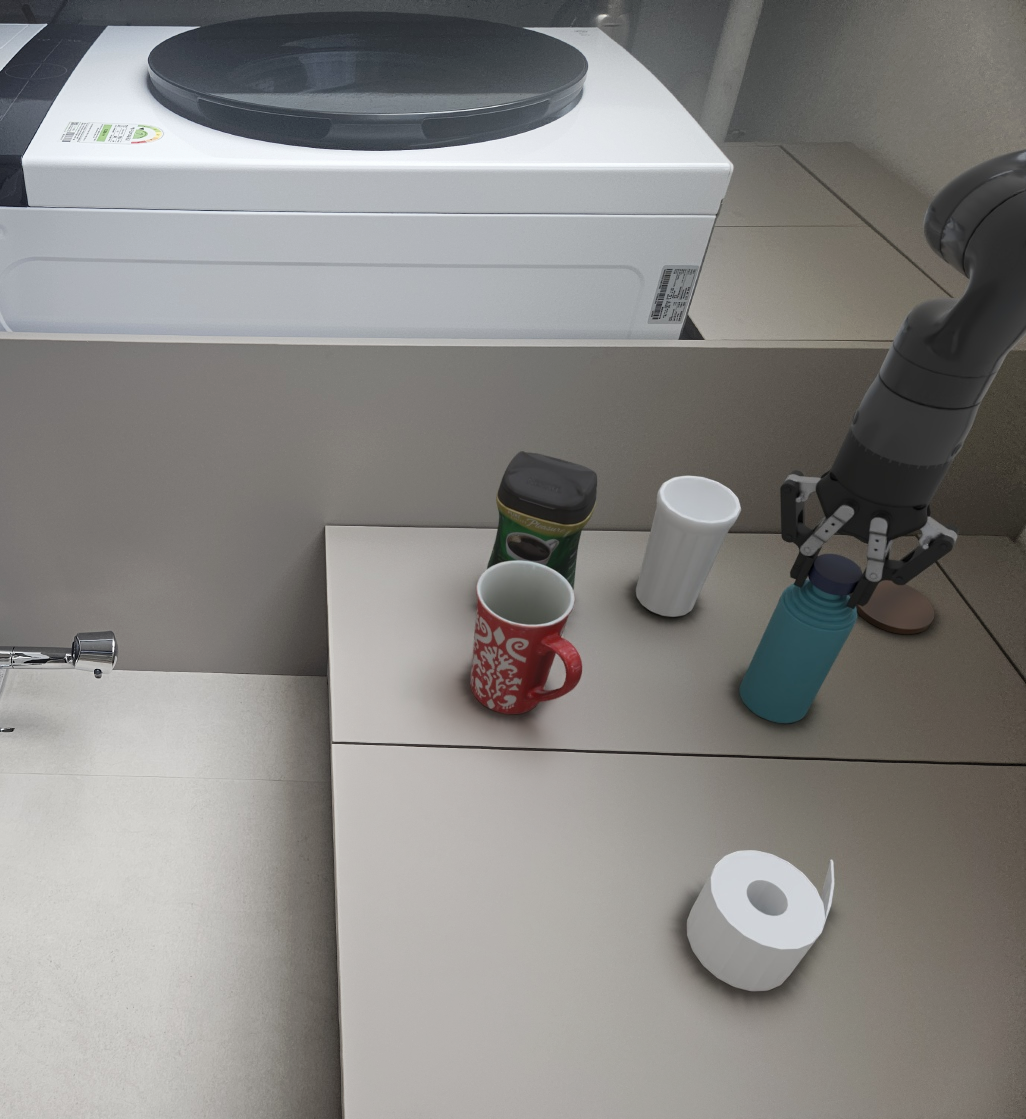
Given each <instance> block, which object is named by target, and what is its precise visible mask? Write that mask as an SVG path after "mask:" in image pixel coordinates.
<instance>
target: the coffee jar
mask: <svg viewBox="0 0 1026 1119" xmlns="http://www.w3.org/2000/svg"><path fill="white" fill-rule="evenodd" d="M597 492H598V475H597V472H596V471H595V470H592V469H591V468H589V467H587V466H585V465H581V464H578V463H574V462H572V461H569V460H564V459H561V458H557V457H553V456H550V455H546V454H541V453H538V452H529V451H528V452H527V451H524V450H520V451H519V452H517V453H516V455H514V457H513V458H512V459H511V460H510V461H509V464H508V465H507V467H506V469H505V471H504V473H503V476H502V477H501V481H500V483H499V487H498V489H497V491H496V496H495V501H496V508H497V511H498V524H497V531H496V535H495V539H494V542H493V546H492V550H491V552H490V557H489V560H488V563H487V567H486V569H485V571H486V570H487V569H488V568H490V567H492V566H494V565H496V564H499V563H502V562H506V561H530V562H535V563H539V564H542V565H545V566H547V567H549V568H551V569H553V570H555V571H557V572H558V573H559V574H561V575H562V576H563V577H564V578H565V579H566V580H567V581H568V582H569V584H570V585H571V587H572V589H573V591H575V590H574V589H575V580H576V570H577V559H578V551H579V545H580V540H581V536H582V532H583V529H584V528H585V527H586V525H587V524H588V523H589V521H590V520H591V517H592V516H593V514H594V511H595V508H596V504H597Z"/></svg>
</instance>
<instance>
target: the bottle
mask: <svg viewBox="0 0 1026 1119" xmlns="http://www.w3.org/2000/svg"><path fill="white" fill-rule="evenodd" d="M793 584H794V582H793V583H792V584H790V585H788V586H787V587H786V588H784V590H783V591H782V592H781V594H780V597H779V599H778V602H777V604H776V605H775V608H774V611H773V612H772V615H771V617H770V619H769V621H768V623H767V626H766V628H765V629H764V632H763V634H762V637H761V639H760V641H759V643H758V646H757V648H756V650H755V651H754V654H753V656H752V658H751V661H750V662H749V664H748V667H747V669H746V672H745V674H744V676H743V678H742V681H741V683H740V685H739V695H740V696H739V697H740V698H741V701H742V702H743V703H744V705H745V706H746V707H747V708H748V709H749V710H750V711H751V712H752V713H753V714H754V715H756V716H758V717H760V718H762V719H764V720H767V721H769V722H773V723H778V724H792V723H796V722H799V721H800V720H802V719H803V718H805V716H806V715H807V713H808V711H809V709H810V708H811V706H812V704H813V702H814V700H815V698H816V697H817V695H818V693H819V691H820V689H821V688H822V685H823V684H824V682H825V680H826V678H827V677H828V674H829V672H830V671H831V669H832V667H833V665H834V663H835V661H836V660H837V658H838V656H839V654H840V652H841V650H842V648H843V647H844V645H845V643H846V642H847V639H848V638H849V637H850V636H849V635H850V634H851V632H852V630H853V628H854V626H855V625H856V623H857V621H858V613H857V610H856V606H855V608H854V609H852V608H849V607H847V606H846V605H847V603H848V601H849V599H850V597H851V595H850V594H849V595H844V596H837V595H831V594H828V593H825V592H823V591H821V590H819V589H818V588H816V587H815V586H814V585H813V584H812V583H811V582H810V580H809V579H806V581H805V582H804V584H803V586H802V588H800V587H798V586H795V585H793Z"/></svg>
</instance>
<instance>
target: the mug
mask: <svg viewBox="0 0 1026 1119" xmlns="http://www.w3.org/2000/svg"><path fill="white" fill-rule="evenodd" d="M486 569H487V568H486ZM486 569H485V570H484V571H483V572H482V573H481V574H480V575H479V578H478V579H477V582H476V586H475V593H476V598H477V600H476V612H475V624H474V635H473V646H472V660H471V669H470V677H469V678H470V680H469V682H470V689H471V691H472V694H473V696H474V697H475V698H476V700H477V701H478V702H479V703H480V704H482V705H483V706H485V707H486V708H488V709H490V710H492V711H494V712H497V713H499V714H506V715H519V714H523V713H526V712H529V711H531V710H532V709H534V708H536V706H537V705H538V704H540V703H542V702H548V701H553V700H556V699H559V698H561V697H563V696H565V695H567V694H569V693H570V692H572V691H573V690H575V688H576V687H577V686H578V684H579V682H580V681H581V678H582V674H583V661H582V658H581V655H580V653H579V651H578V649H577V648H576V646H575V645H573V643H572V642H570V641H569V640H567V639H565V638H564V637H563V633H564V630H565V627H566V625H567V621H568V618H569V616H570V614H571V613H572V611H573V609H574V606H575V602H576V598H575V592H574V590H573V589H572V587H571V585H570V584H569V582H568V581H567V580H566V579H565V578H564V577H563V576H562V575H561V574H559V573H558V572H557V571H555V570H553V569H551V568H549V567H547V566H545V565H542V564H539V563H535V562H530V561H506V562H502V563H499V564H496V565H494V566H492V567H490V568H488V569H487V570H486ZM556 655H558V657H559V658H560V660H561V661H562V663H563V665H564V669H565V678H564V681H563V684H562V686H561V687H558V688H555V689H549V690H548V689H545V688H546V685H547V682H548V679H549V676H550V672H551V670H552V666H553V663H554V661H555V657H556Z"/></svg>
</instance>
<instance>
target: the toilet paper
mask: <svg viewBox="0 0 1026 1119" xmlns="http://www.w3.org/2000/svg"><path fill="white" fill-rule="evenodd" d="M834 866H835V865H834V860H833V859H830V860H829V864H828V868H827V872H826V875H825V878H824V882H823V887H822V890H821V893H820V894H819V891H818V889H817V888H816V886H815V885H814V884H813V883H812V881H811V880H810V879H809V878H808V876H806V874H805V873H803V872H802V871H801V870H800V869H798V868H797V867H796V866H795V865H793V864H792V863H790V862H789V861H787V860H785V859H783V858H781V857H779V856H777V855H775V854H772V853H769V852H765V851H760V850H756V849H749V850H748V849H746V850H737V851H734V852H731V853H728V854H726V855H724V856H723V857H722V858H721V859H720V860H719V861H718V862H717V863H716V864H715V865H714V867H713V868H712V870H711V872H710V874H709V876H708V878H707V880H706V882H705V883H704V885H703V886H702V889H701V891H700V893H699V894H698V896H697V898H696V899H695V902H694V903H693V905H692V907H691V909H690V911H689V914H688V916H687V920H686V936H687V940H688V942H689V944H690V948H691V950H692V952H693V953H694V955H695V956H696V958H697V959H698V960H699V962H700V964H701V965H702V966H703V968H705V969H706V970H707V971H709V972H710V973H711V974H712V975H713V976H714V977H715V978H717V979H718V980H720V981H722V982H724V983H726V984H727V985H730V986H731V987H733V988H736V989H739V990H744V991H748V992H768V991H770V990H772V989H775V988H777V987H780V986H781V985H782V984H783V983H784V982H785V981H786V980H787V979H788V978H789V976H790V975H791V974H792V973H793V972H794V970H795V969H796V968H797V966H798V965H799V964H800V962H801V961H802V960H803V959H804V957H805V955H806V954H807V953H808V952H809V951H810V949H811V948H812V946H813V945H814V944H815V942H816V941H817V940H818V938H819V937H820V936H821V934H822V933H823V931H824V927H825V924H826V921H827V918H828V915H829V913H830V910H831V907H832V903H833V896H834V891H835V890H834V889H835V867H834Z"/></svg>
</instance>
